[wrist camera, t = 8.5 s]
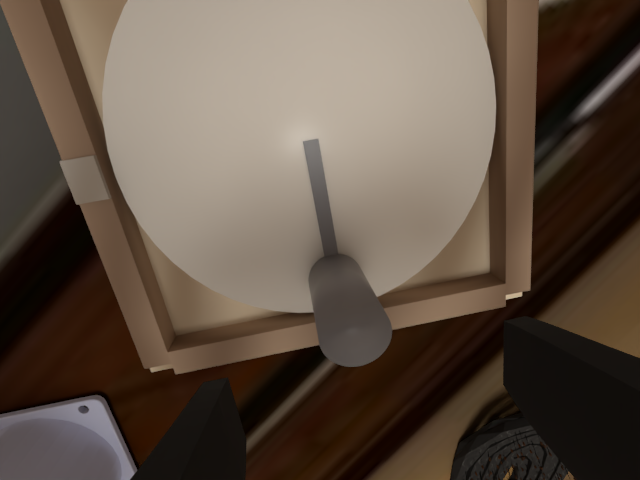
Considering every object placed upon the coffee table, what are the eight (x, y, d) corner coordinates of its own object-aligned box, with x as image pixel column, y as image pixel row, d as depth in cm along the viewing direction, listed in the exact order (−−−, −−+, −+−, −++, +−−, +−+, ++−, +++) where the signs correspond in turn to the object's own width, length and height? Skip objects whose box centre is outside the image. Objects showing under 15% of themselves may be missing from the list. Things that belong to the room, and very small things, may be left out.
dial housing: (161, 353, 18) (139, 395, 16) (-2, -88, 12) (-87, -153, 10) (504, 283, 19) (543, 311, 17) (505, -159, 13) (566, -238, 11)
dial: (48, -48, 12) (-133, -184, 7) (476, -117, 12) (613, -290, 7) (182, 331, 16) (137, 422, 11) (486, 266, 17) (574, 325, 12)
